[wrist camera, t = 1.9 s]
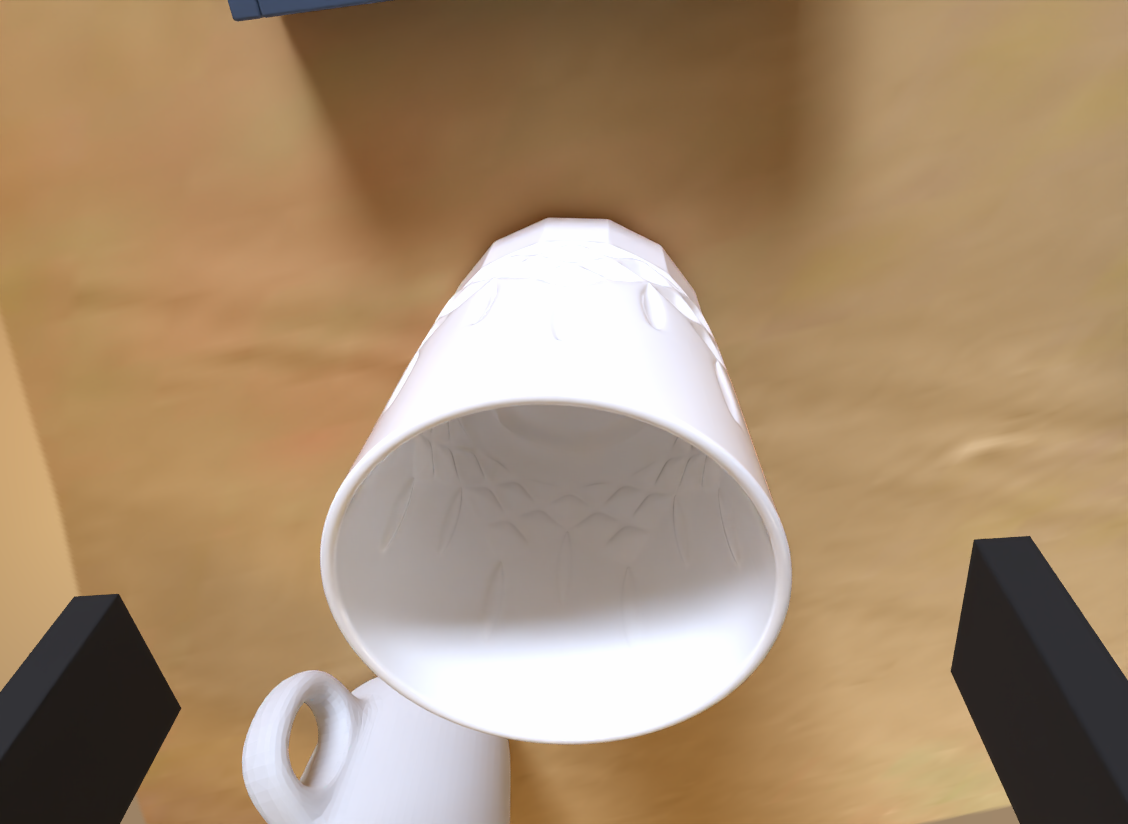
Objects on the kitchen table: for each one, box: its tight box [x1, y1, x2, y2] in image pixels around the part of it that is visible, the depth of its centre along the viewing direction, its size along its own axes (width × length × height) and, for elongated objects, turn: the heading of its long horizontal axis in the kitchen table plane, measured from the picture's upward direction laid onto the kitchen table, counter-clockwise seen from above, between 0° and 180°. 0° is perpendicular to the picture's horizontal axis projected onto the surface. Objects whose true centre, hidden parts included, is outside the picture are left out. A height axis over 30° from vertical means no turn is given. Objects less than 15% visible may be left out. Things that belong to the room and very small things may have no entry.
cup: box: [242, 670, 511, 824], centre depth 27 cm, size 11×8×8 cm
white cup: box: [320, 218, 792, 745], centre depth 18 cm, size 8×8×10 cm
